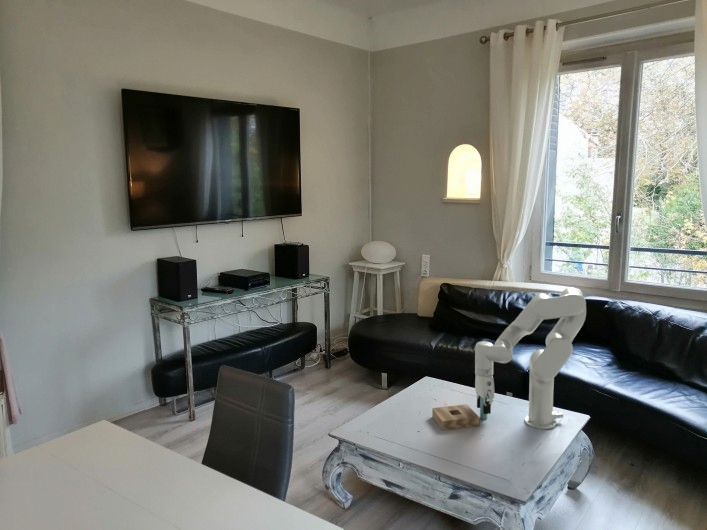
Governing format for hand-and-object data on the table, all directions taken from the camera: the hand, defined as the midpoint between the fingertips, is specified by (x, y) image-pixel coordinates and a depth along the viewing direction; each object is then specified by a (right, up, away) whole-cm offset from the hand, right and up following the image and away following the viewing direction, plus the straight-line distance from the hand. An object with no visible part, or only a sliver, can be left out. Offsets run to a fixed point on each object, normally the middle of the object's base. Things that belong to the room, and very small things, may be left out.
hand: (483, 410), depth 233 cm
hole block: (-13, -4, -2) cm, 13 cm away
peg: (0, -3, +1) cm, 4 cm away
